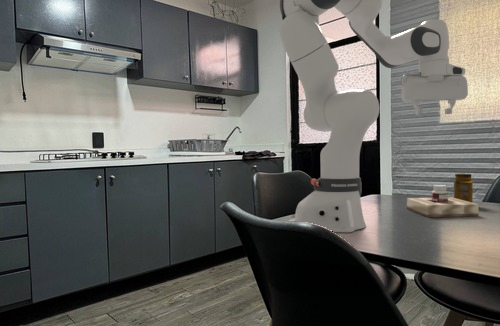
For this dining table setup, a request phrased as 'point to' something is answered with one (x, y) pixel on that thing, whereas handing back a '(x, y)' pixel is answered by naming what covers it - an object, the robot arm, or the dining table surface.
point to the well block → (443, 207)
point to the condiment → (463, 187)
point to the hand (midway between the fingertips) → (433, 114)
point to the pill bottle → (439, 194)
